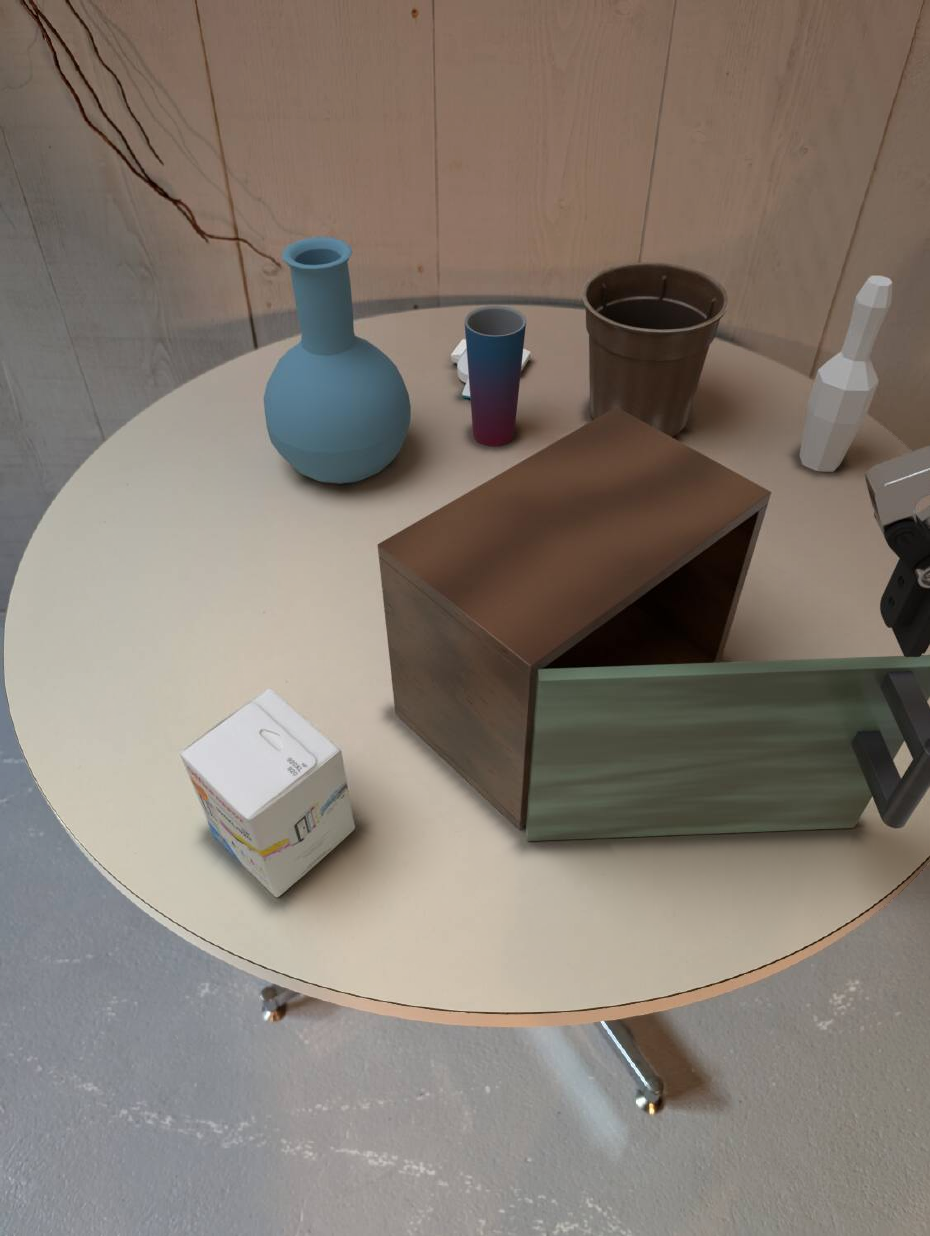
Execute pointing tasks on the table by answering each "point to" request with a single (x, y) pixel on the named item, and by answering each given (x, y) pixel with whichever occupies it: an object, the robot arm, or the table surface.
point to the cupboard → (560, 587)
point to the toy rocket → (462, 364)
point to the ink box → (271, 790)
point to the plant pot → (650, 339)
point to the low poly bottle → (845, 383)
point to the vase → (333, 378)
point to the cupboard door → (727, 746)
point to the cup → (494, 371)
